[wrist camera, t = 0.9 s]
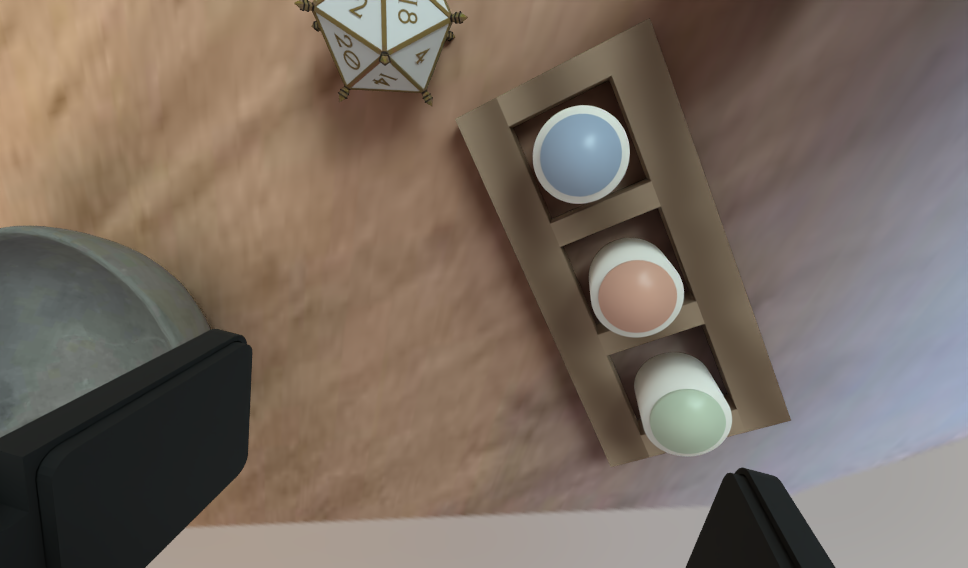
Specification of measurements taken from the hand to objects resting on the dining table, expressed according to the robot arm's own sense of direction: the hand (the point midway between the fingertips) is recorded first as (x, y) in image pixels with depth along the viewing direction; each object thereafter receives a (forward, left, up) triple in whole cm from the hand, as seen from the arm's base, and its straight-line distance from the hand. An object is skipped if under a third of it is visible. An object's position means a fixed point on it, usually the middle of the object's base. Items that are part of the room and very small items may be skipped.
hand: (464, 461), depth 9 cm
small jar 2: (-4, +4, -22) cm, 23 cm away
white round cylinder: (-4, +12, -22) cm, 25 cm away
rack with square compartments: (-4, +4, -24) cm, 25 cm away
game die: (+3, -15, -25) cm, 29 cm away
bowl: (+34, -5, -25) cm, 42 cm away
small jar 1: (-4, -4, -22) cm, 22 cm away
